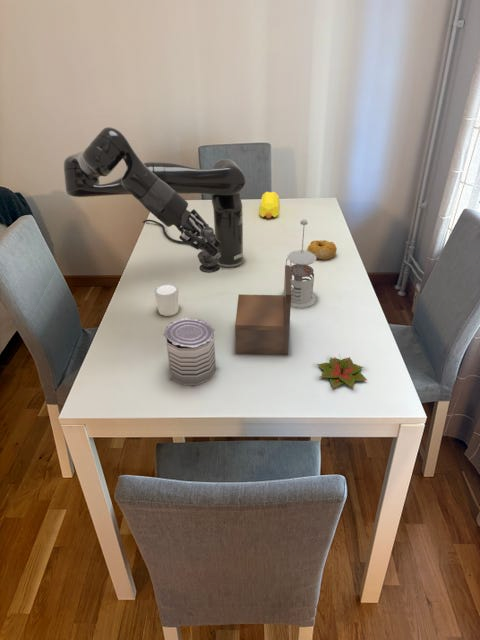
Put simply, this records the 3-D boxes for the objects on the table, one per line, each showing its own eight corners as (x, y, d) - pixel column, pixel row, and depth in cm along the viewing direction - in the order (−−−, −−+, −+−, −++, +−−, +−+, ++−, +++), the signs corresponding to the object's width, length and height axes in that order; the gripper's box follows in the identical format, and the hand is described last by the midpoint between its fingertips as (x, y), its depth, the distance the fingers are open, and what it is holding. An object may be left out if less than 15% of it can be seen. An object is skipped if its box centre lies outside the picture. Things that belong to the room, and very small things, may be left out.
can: (172, 355, 123) (168, 316, 116) (217, 355, 123) (215, 316, 116) (165, 385, 114) (160, 345, 107) (214, 386, 113) (211, 345, 106)
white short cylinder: (184, 306, 141) (182, 285, 137) (174, 319, 136) (172, 297, 132) (163, 302, 143) (160, 281, 139) (152, 314, 138) (149, 293, 134)
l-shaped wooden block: (235, 353, 123) (234, 293, 113) (239, 321, 135) (238, 264, 124) (288, 355, 122) (291, 294, 112) (286, 322, 134) (289, 265, 124)
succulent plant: (376, 385, 113) (379, 370, 110) (329, 396, 110) (331, 381, 108) (352, 354, 122) (354, 339, 120) (308, 363, 120) (309, 348, 117)
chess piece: (218, 274, 120) (216, 229, 114) (195, 272, 122) (192, 228, 115) (223, 263, 125) (222, 219, 118) (201, 261, 126) (198, 218, 119)
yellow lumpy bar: (258, 220, 191) (278, 220, 191) (258, 204, 187) (278, 204, 187) (261, 203, 206) (279, 203, 205) (261, 187, 202) (280, 188, 201)
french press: (294, 311, 139) (298, 230, 124) (273, 292, 147) (275, 214, 133) (322, 302, 142) (330, 222, 128) (300, 284, 151) (305, 207, 136)
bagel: (334, 247, 171) (336, 234, 168) (337, 262, 162) (338, 249, 159) (306, 246, 172) (307, 234, 169) (307, 261, 163) (308, 248, 160)
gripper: (159, 201, 121) (210, 246, 128) (147, 225, 110) (203, 273, 116) (178, 180, 118) (229, 227, 124) (168, 203, 106) (225, 253, 113)
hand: (216, 249), depth 120 cm, fingers closed on chess piece, 3 cm apart
